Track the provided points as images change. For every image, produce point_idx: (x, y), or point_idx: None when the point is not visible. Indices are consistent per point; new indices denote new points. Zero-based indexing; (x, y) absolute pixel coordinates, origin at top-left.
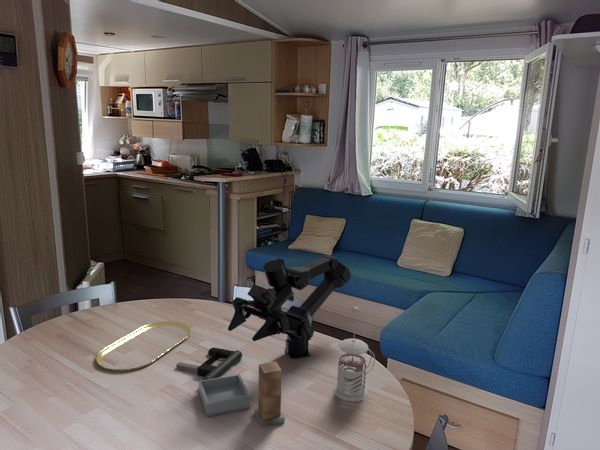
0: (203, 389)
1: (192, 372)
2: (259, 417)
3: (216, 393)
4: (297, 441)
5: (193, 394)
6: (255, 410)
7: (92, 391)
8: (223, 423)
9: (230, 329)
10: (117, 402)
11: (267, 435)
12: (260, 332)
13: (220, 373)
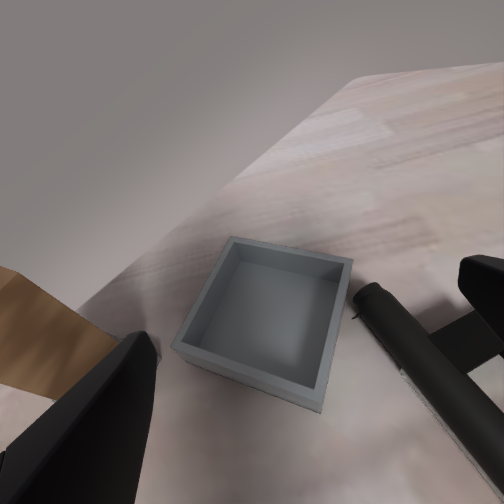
0: (298, 253)
1: None
2: (116, 339)
3: (307, 312)
4: None
5: None
6: None
7: (464, 130)
8: (193, 277)
9: (468, 285)
10: (397, 154)
11: None
12: (50, 413)
13: (409, 370)
